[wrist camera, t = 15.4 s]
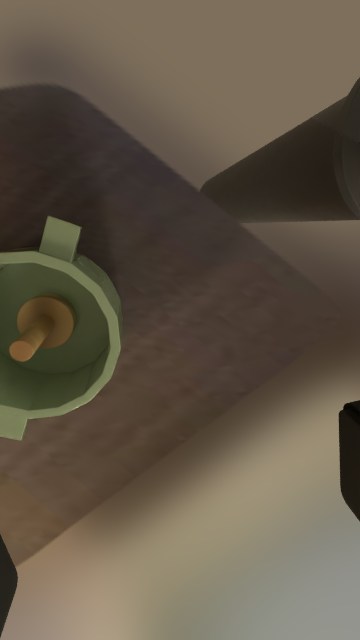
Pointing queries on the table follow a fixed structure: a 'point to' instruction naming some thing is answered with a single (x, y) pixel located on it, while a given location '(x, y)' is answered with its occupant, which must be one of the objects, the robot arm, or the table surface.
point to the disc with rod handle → (43, 325)
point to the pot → (78, 351)
